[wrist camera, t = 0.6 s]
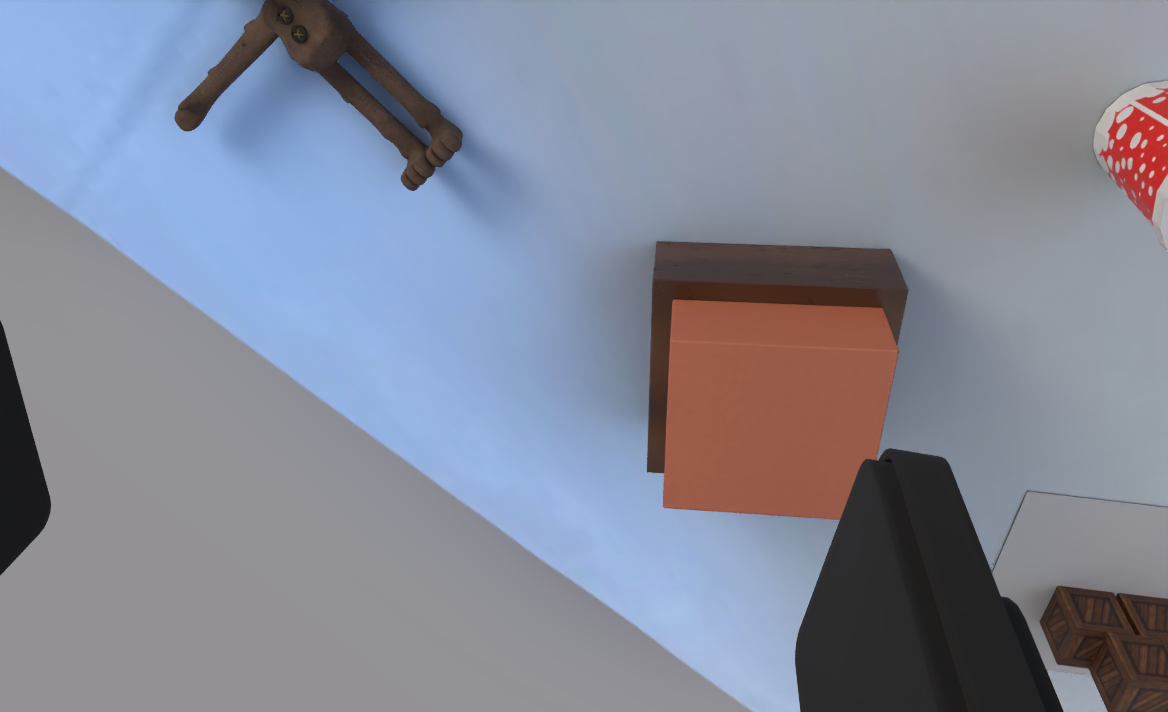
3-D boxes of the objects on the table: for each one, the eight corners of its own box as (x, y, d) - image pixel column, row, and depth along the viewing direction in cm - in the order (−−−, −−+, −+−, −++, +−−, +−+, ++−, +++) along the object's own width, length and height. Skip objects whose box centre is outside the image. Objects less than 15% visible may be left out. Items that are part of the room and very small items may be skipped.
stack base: (656, 240, 46) (652, 279, 42) (891, 248, 44) (909, 289, 41) (650, 424, 52) (646, 472, 48) (856, 436, 51) (868, 486, 47)
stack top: (672, 298, 42) (670, 340, 39) (883, 307, 41) (899, 350, 38) (665, 459, 47) (662, 508, 44) (852, 470, 46) (863, 521, 43)
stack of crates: (1292, 521, 50) (1368, 613, 44) (1182, 686, 58) (1235, 782, 52) (1027, 490, 51) (1068, 576, 46) (955, 657, 59) (982, 747, 54)
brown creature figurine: (321, 280, 46) (70, 73, 40) (344, 241, 49) (115, 45, 43) (572, 51, 38) (306, -248, 32) (577, 24, 41) (339, -251, 35)
